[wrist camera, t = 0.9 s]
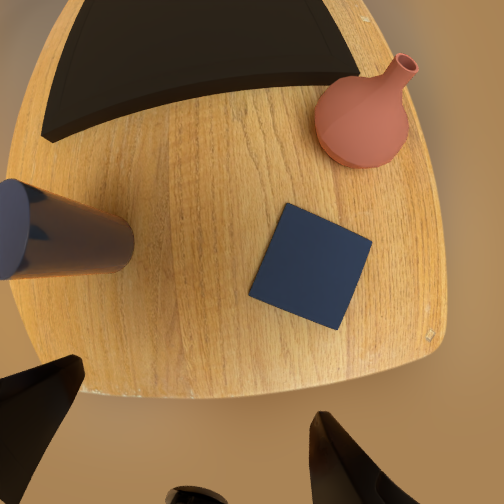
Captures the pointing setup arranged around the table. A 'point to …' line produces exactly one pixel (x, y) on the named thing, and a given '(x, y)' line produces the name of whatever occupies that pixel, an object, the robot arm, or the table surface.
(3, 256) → the blue cylinder
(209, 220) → the table surface
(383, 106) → the terracotta bud vase
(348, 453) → the robot arm
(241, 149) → the table surface
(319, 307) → the blue mat
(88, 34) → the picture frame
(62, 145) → the table surface
